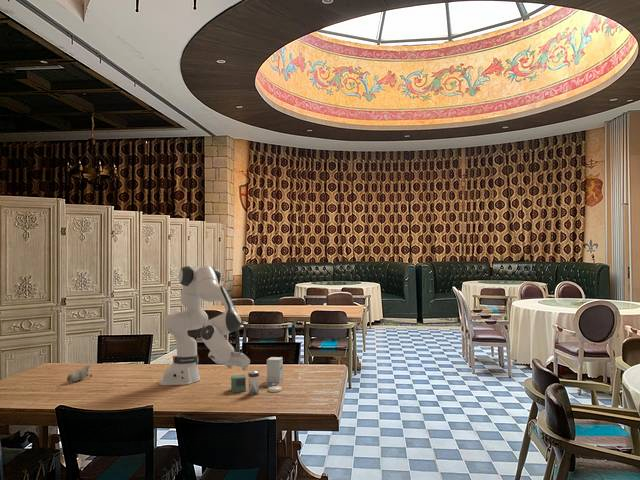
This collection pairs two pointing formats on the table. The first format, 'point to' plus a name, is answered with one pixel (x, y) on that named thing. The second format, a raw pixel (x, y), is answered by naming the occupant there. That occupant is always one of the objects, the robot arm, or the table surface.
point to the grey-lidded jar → (253, 382)
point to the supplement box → (275, 369)
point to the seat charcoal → (270, 384)
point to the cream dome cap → (275, 389)
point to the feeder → (238, 383)
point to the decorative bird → (78, 374)
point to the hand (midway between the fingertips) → (238, 368)
